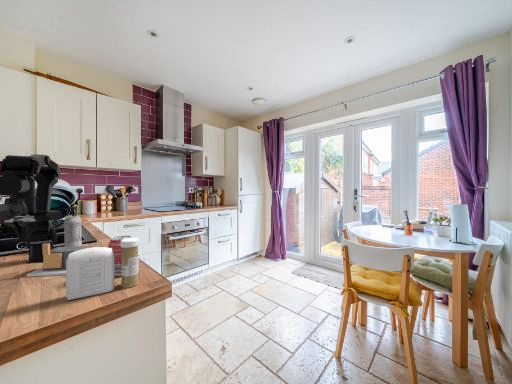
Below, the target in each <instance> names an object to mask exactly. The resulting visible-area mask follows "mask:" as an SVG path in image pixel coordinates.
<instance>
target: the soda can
mask: <svg viewBox="0 0 512 384" xmlns="http://www.w3.org/2000/svg"><path fill="white" fill-rule="evenodd" d="M127 238H132V236H130V235H117V236H113V237H111V238H110V241H109V243H108V246H107V248H112V251H113V253H114V278H116V277H117V278H119V277H120V278H121V277H122V275H121V259H122V255H121V252H122V251H121V240H123V239H127Z"/></svg>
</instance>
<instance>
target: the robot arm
mask: <svg viewBox="0 0 512 384" xmlns="http://www.w3.org/2000/svg"><path fill="white" fill-rule="evenodd" d="M60 177H61V168H60V167H59V164H58V163H57V162H55V161H54V160H52V159H51V157H50V155H47V154H36V153H35V154H30V155H15V154H14V155H10V154H8V155H6V156H5V157H4V158H3V159H2V160H1V163H0V195H1V196H8V197H5V199H4V200H3V201H4V202H3V204H0V221H4V222H2V225H7V227H10V228H11V229H12V230H13V231H14V233H15V235H16V236H17V238H18V239H19V241H20V243H22V245H23V247H24V248H27V247H28V260H25V261H24V263H42V262H43V263H44V261H43V251H42V244H47V243H50V250H52V249H54V248H55V246H54V244H57V243H59V239H58V234H57V231H56V229H55V227H54V225H53V224H52V222H51V221H55V220H59V219H62V213H61V211H60V210H55V209H54V210H51V202H52V193H53V187H55V185H56V184H58V183H59V178H60Z"/></svg>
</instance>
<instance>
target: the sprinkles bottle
mask: <svg viewBox="0 0 512 384" xmlns="http://www.w3.org/2000/svg"><path fill="white" fill-rule="evenodd" d="M139 242H140V241H139V238H138V237H131V238H127V239H123V240H121V251H122V252H121V255H122V259H121V275H122V276H121V284H120V286H121V288H125V289H127V288H132V287H135V286H137V285H139V283H140V281H139V244H140V243H139Z"/></svg>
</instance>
